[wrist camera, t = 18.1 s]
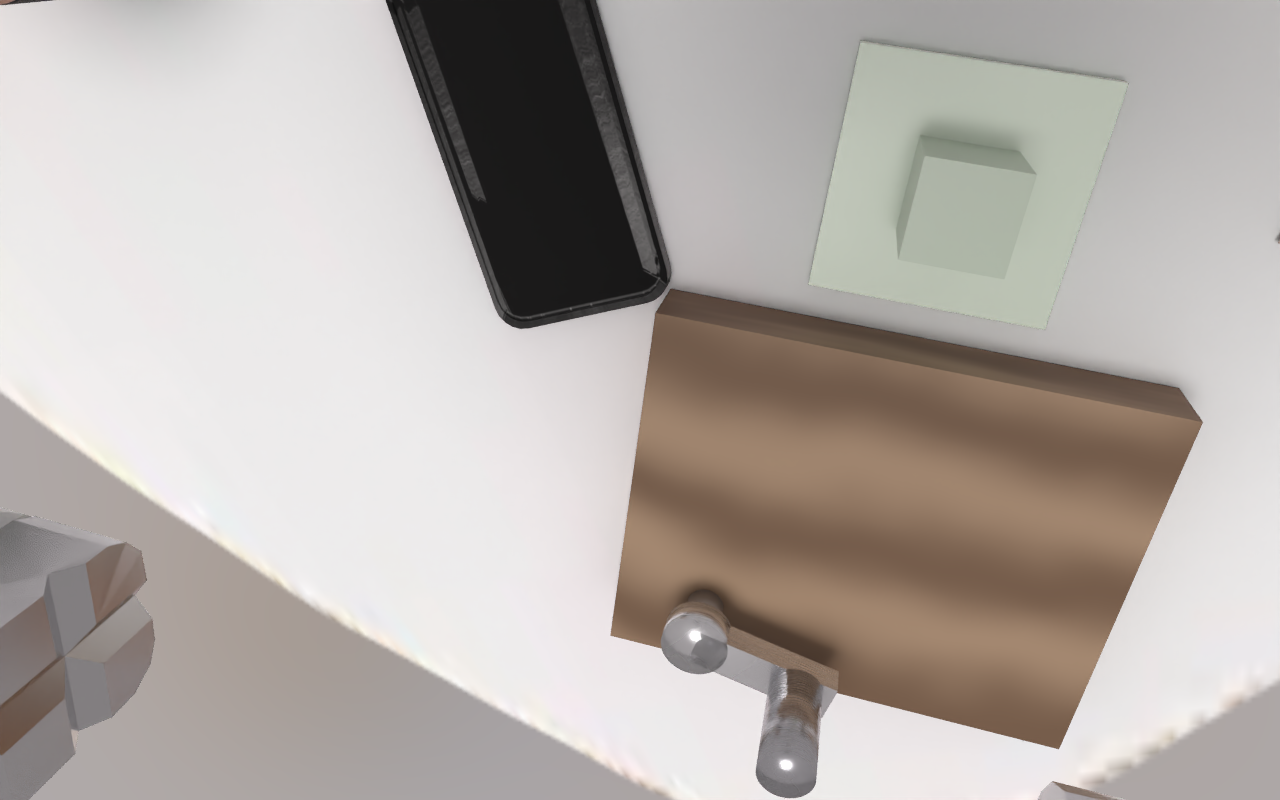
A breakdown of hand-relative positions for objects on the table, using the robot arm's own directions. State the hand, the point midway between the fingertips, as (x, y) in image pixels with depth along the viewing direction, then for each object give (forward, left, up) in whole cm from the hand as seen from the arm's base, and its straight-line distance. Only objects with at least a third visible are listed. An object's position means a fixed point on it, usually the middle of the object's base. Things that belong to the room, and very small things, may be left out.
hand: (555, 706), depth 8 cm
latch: (+20, +2, -26) cm, 33 cm away
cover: (+1, +6, -31) cm, 32 cm away
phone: (+2, -11, -31) cm, 33 cm away
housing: (+15, +6, -31) cm, 35 cm away
